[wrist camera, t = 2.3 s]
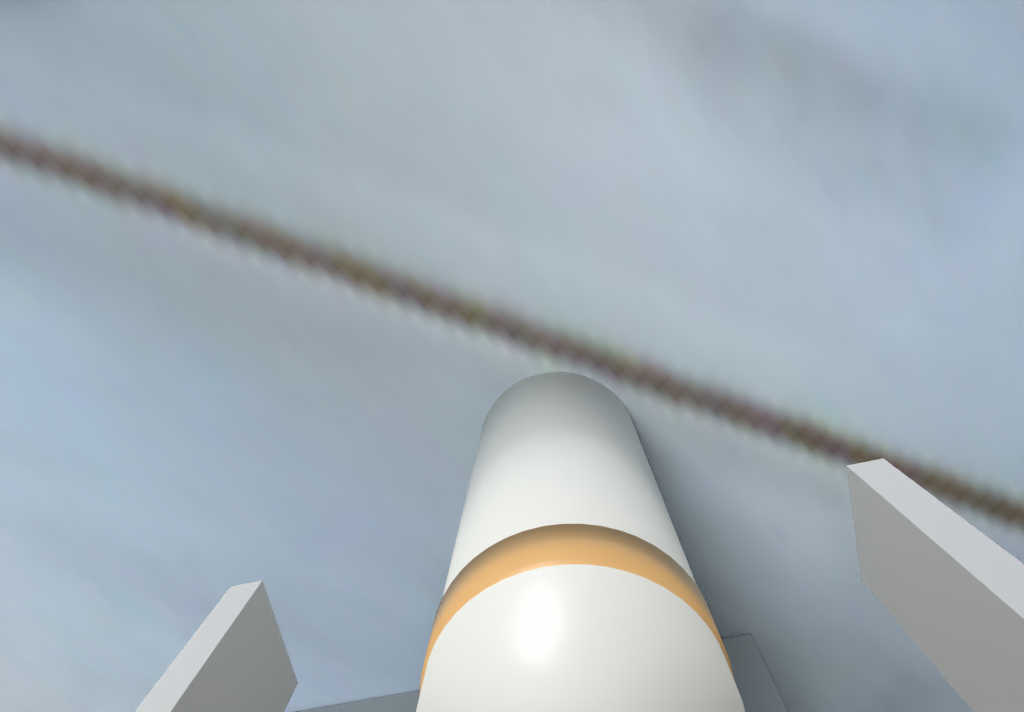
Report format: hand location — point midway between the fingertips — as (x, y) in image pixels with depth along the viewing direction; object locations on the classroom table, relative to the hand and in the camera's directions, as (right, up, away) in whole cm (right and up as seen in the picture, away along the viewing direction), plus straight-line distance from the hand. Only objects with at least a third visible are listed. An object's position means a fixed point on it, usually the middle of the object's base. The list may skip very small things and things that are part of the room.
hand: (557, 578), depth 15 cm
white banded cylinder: (+1, +2, +7) cm, 7 cm away
